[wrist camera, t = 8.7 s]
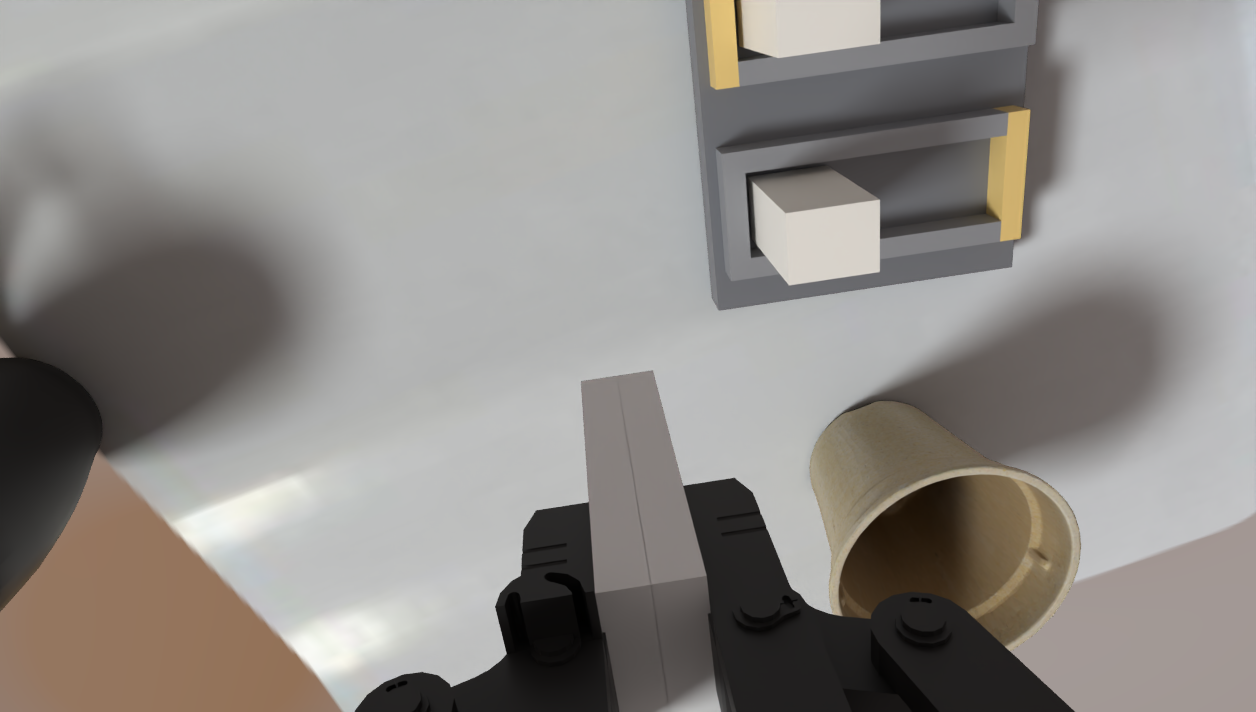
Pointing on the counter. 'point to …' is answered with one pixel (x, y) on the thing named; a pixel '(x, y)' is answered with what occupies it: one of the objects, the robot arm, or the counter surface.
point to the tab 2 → (815, 224)
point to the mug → (40, 463)
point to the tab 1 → (807, 25)
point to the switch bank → (870, 138)
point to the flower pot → (939, 523)
